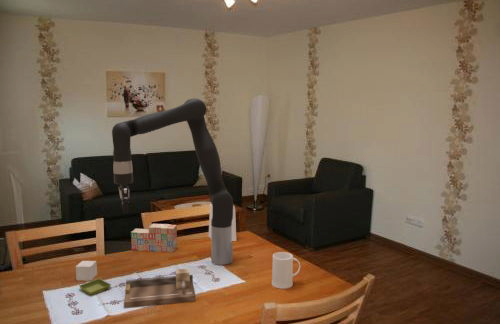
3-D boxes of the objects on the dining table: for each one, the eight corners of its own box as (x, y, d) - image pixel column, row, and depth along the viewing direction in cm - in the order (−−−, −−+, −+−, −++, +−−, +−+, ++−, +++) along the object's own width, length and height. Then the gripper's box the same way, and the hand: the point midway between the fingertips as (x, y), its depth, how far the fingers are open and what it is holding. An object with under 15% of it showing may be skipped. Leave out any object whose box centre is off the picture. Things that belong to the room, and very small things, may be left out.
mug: (297, 278, 165) (298, 251, 164) (303, 287, 157) (304, 258, 155) (269, 280, 164) (270, 252, 162) (273, 289, 155) (274, 260, 154)
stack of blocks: (131, 250, 195) (130, 226, 193) (136, 246, 201) (135, 222, 200) (173, 252, 193) (173, 228, 191) (177, 248, 199) (176, 224, 197)
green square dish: (99, 283, 160) (99, 278, 160) (111, 289, 154) (111, 284, 154) (78, 290, 153) (78, 285, 153) (90, 297, 148) (90, 292, 147)
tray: (192, 285, 158) (192, 274, 157) (195, 300, 146) (195, 289, 145) (126, 291, 153) (126, 279, 152) (123, 307, 140) (123, 295, 139)
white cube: (83, 274, 167) (82, 260, 166) (97, 274, 167) (96, 261, 166) (76, 280, 161) (75, 266, 161) (91, 280, 161) (90, 266, 160)
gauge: (188, 283, 156) (188, 268, 155) (190, 293, 147) (190, 278, 146) (176, 284, 154) (175, 269, 154) (177, 294, 146) (176, 279, 145)
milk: (208, 237, 216) (208, 190, 212) (228, 234, 220) (228, 188, 217) (215, 244, 205) (215, 194, 201) (236, 241, 209) (236, 193, 206)
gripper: (134, 173, 159) (136, 213, 161) (131, 168, 172) (132, 205, 174) (114, 175, 156) (116, 215, 158) (112, 169, 169) (114, 206, 172)
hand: (125, 209), depth 166 cm, fingers open, 8 cm apart
